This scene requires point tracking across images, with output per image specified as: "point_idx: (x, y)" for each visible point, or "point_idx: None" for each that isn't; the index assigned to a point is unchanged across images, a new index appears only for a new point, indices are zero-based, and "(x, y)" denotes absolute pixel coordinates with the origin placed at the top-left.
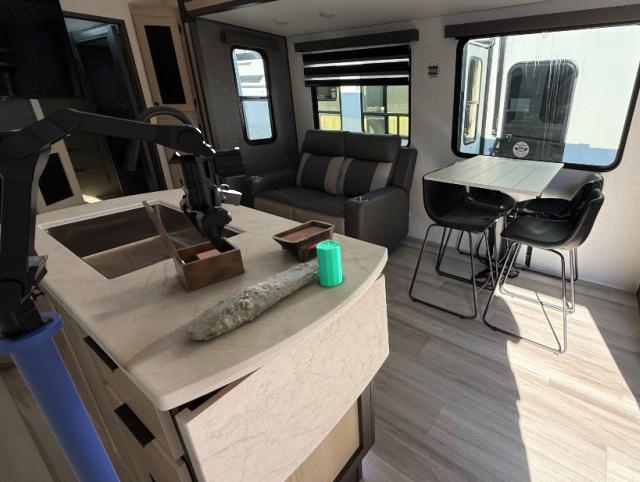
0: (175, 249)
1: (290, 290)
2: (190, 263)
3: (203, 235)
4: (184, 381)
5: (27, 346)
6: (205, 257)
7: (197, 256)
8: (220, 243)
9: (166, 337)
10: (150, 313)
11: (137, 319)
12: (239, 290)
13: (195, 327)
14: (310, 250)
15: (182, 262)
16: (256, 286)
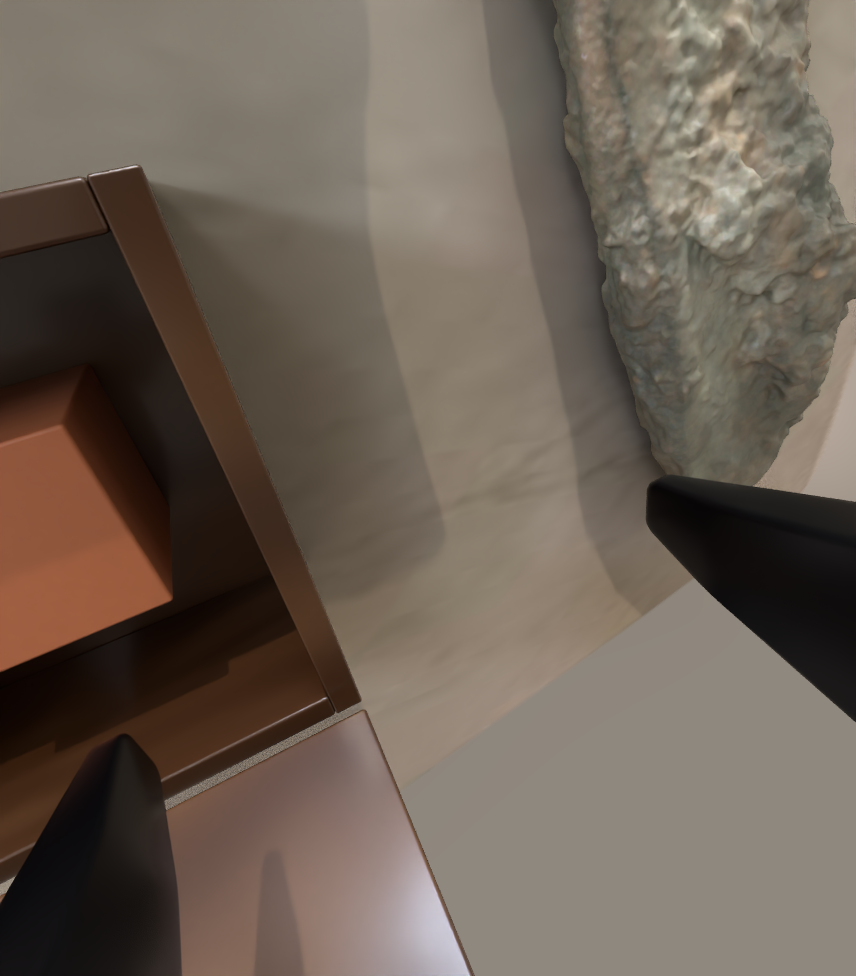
0: (427, 866)
1: None
2: (342, 662)
3: (160, 811)
4: (805, 461)
5: None
6: (92, 584)
7: (16, 664)
8: (734, 489)
9: (614, 552)
10: (426, 657)
11: (444, 681)
12: (655, 285)
13: (752, 474)
14: None
15: (369, 719)
16: (667, 158)
